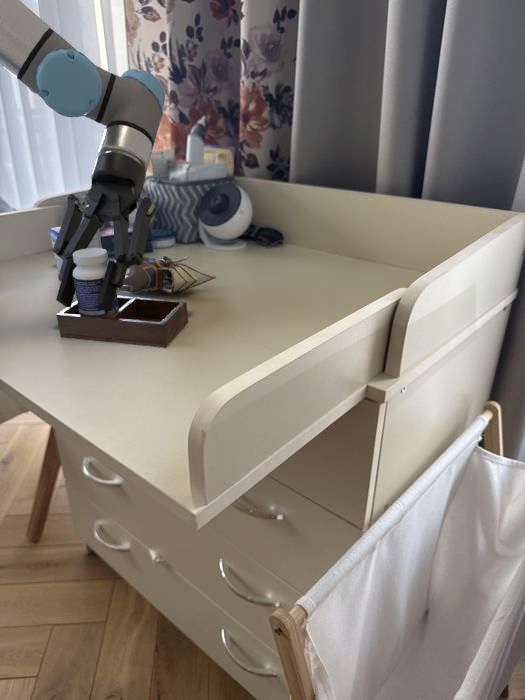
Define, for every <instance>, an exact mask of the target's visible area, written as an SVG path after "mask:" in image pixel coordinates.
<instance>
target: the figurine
mask: <svg viewBox="0 0 525 700" xmlns="http://www.w3.org/2000/svg"><path fill="white" fill-rule="evenodd" d="M191 256H192V254H188V255H187V256H184V257H181V258H179V259H175V260H173V259H172V258H170V257H168V256H167V255H163V257H161V258H159V259H156V258H155V257H152V256H145V255H144V256H143V261H142V264H141V265H139V266H137V265H132V266H130V267H129V268H128V269H129V271H128V272H126V276H125V279H124V283H123V286H122V287H121V288H117V291H116V292H117V293H119V292H126V293H132V294H138V293H141V292H143V291H144V292H146V291H148V290H150V291H151V292H154V291H160V290H161V291H163V292H166V293H168V294H173V293H182V292H185V291H186V290H189V289H192V288H195V287H197V286H200V285H203V284H205V283H208V282H210V281H212V280H215V279H217V278H216V276H211V275H209V274H206V273H203V272H201V271H198V270H197V269H194V268H193V267H191V266H189V265H188V264H184V263H182V262H183V261H186V262H188V261H189V259H190V258H191ZM114 262H115V263H116V260H115V261H114Z"/></svg>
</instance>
